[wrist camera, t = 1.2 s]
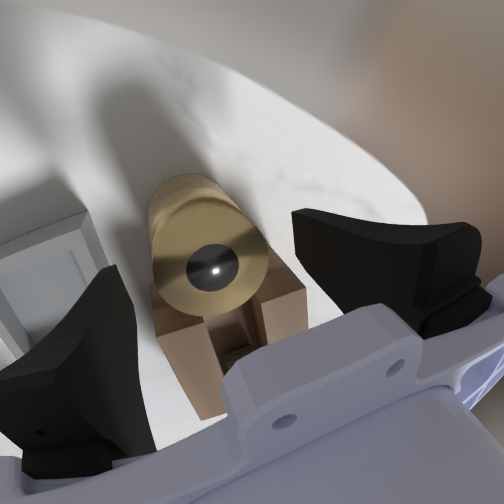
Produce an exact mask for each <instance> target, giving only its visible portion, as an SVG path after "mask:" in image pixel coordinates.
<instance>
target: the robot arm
mask: <svg viewBox="0 0 504 504" xmlns="http://www.w3.org/2000/svg"><path fill="white" fill-rule="evenodd" d="M291 214H292V224H293V234H294V245H295V255H296V257H297V258H298V260H299V261H300V263H301V264H302V266H303V267H304V269H305V270H306V272H307V273H308V274H309V275H310V276H311V277H312V279H313V280H314V281H315V282H316V283H317V284H318V285H319V286H320V287H321V288H322V290H323V291H324V292H325V293H326V294H327V295H328V296H329V297H330V298H331V299H332V300H333V302H334V303H335V304H336V305H337V306H338V307H339V308H340V310H341V311H342V312H343V314H344V315H342V316H340V317H337V318H335V319H333V320H330V321H328V322H325V323H323V324H321V325H318V326H316V327H313V328H311V329H308V330H306V331H303V332H301V333H298V334H296V335H293V336H290V337H288V338H285V339H283V340H280V341H277V342H275V343H272V344H269V345H266V346H264V347H261V348H259V349H257V350H255V351H253V352H252V353H250V354H248V355H246V356H244V357H243V358H241V359H239V360H238V361H236V363H235V364H234V365H233V366H232V368H231V369H230V370H229V371H228V372H227V374H226V375H225V376H224V377H223V378H222V382H221V397H222V400H223V403H224V406H225V409H226V411H227V414H228V416H227V417H226V418H224V419H222V420H220V421H218V422H216V423H214V424H213V425H211V426H209V427H207V428H205V429H203V430H201V431H199V432H197V433H195V434H193V435H191V436H189V437H187V438H185V439H183V440H181V441H178V442H176V443H174V444H172V445H170V446H168V447H165V448H163V449H161V450H159V451H157V449H156V446H155V443H154V440H153V436H152V433H151V429H150V426H149V422H148V418H147V414H146V410H145V406H144V401H143V396H142V391H141V386H140V380H139V369H138V343H137V324H136V317H135V311H134V305H133V303H132V301H131V299H130V297H129V294H128V292H127V290H126V288H125V285H124V283H123V281H122V278H121V276H120V274H119V271H118V269H117V266H116V264H115V265H112V266H108V267H105V268H102V269H101V270H100V271H99V272H98V273H97V274H96V276H95V277H94V278H93V280H92V281H91V282H90V284H89V285H88V287H87V288H86V289H85V291H84V292H83V293H82V295H81V296H80V298H79V299H78V300H77V301H76V303H75V304H74V305H73V307H72V308H71V309H70V310H69V312H68V313H67V314H66V315H65V317H64V318H63V319H62V320H61V321H60V322H59V323H58V324H57V325H56V326H55V328H54V329H53V330H52V331H51V332H50V333H49V334H47V335H46V336H45V337H44V338H43V339H42V340H41V341H40V342H39V343H38V344H37V345H36V346H34V347H33V348H32V349H31V350H29V351H28V352H27V353H26V354H24V355H23V356H22V357H20V358H19V359H18V360H16V361H15V362H14V363H12V364H11V365H9V366H7V367H6V368H4V369H3V370H1V371H0V432H1V433H3V434H4V435H5V436H6V437H7V438H8V439H10V440H11V441H12V442H13V443H14V444H16V445H17V446H18V447H19V448H21V449H22V450H23V454H22V459H21V458H18V457H15V456H0V504H504V449H503V448H502V447H501V446H500V445H499V444H498V442H497V441H496V440H495V439H494V438H493V437H492V435H491V434H490V433H489V432H488V431H487V430H486V429H485V427H484V426H483V425H482V424H481V423H480V422H479V421H478V420H477V418H476V417H475V416H474V415H473V414H472V413H471V412H470V411H469V410H470V409H471V408H472V407H473V406H474V405H475V404H476V403H477V402H478V401H479V400H480V399H481V398H482V397H483V396H484V395H485V394H486V393H487V392H488V391H489V390H490V389H491V388H492V387H493V386H494V385H495V383H497V381H498V380H499V379H500V378H501V377H502V376H503V375H504V274H501V275H500V276H498V277H497V278H496V279H495V280H493V281H492V282H490V283H489V284H488V286H487V287H486V289H485V290H484V289H483V288H482V287H480V286H479V285H480V284H481V280H480V278H478V277H477V276H475V273H476V269H477V265H478V261H479V257H480V253H481V247H482V240H481V235H480V232H479V230H478V229H477V228H475V227H474V226H472V225H470V224H468V223H466V222H458V223H449V224H440V225H397V224H386V223H378V222H371V221H365V220H360V219H355V218H351V217H346V216H342V215H337V214H333V213H329V212H325V211H320V210H315V209H309V208H304V209H300V210H296V211H293V212H291Z"/></svg>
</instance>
